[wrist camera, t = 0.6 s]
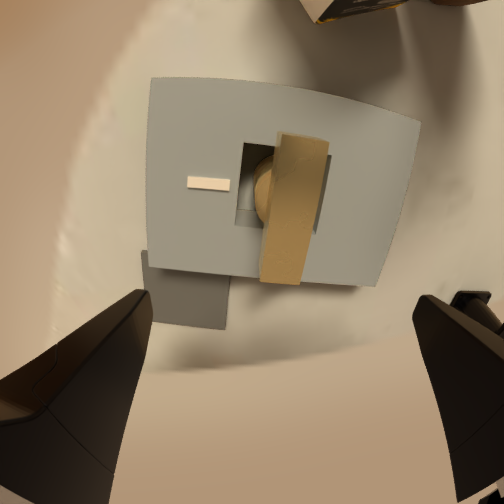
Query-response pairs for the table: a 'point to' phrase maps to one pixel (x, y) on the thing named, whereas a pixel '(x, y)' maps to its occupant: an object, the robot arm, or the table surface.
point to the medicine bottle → (344, 8)
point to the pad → (186, 296)
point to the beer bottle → (456, 2)
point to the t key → (288, 204)
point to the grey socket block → (229, 166)
